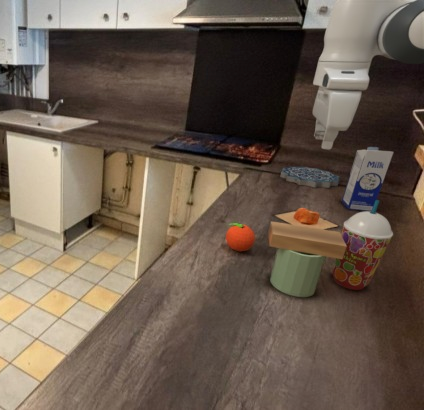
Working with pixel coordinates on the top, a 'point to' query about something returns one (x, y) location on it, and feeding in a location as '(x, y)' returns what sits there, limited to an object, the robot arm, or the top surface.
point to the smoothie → (362, 248)
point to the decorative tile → (310, 176)
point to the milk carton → (366, 178)
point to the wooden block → (307, 240)
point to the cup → (296, 272)
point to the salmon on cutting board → (306, 219)
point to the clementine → (240, 237)
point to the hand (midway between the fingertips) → (321, 143)
